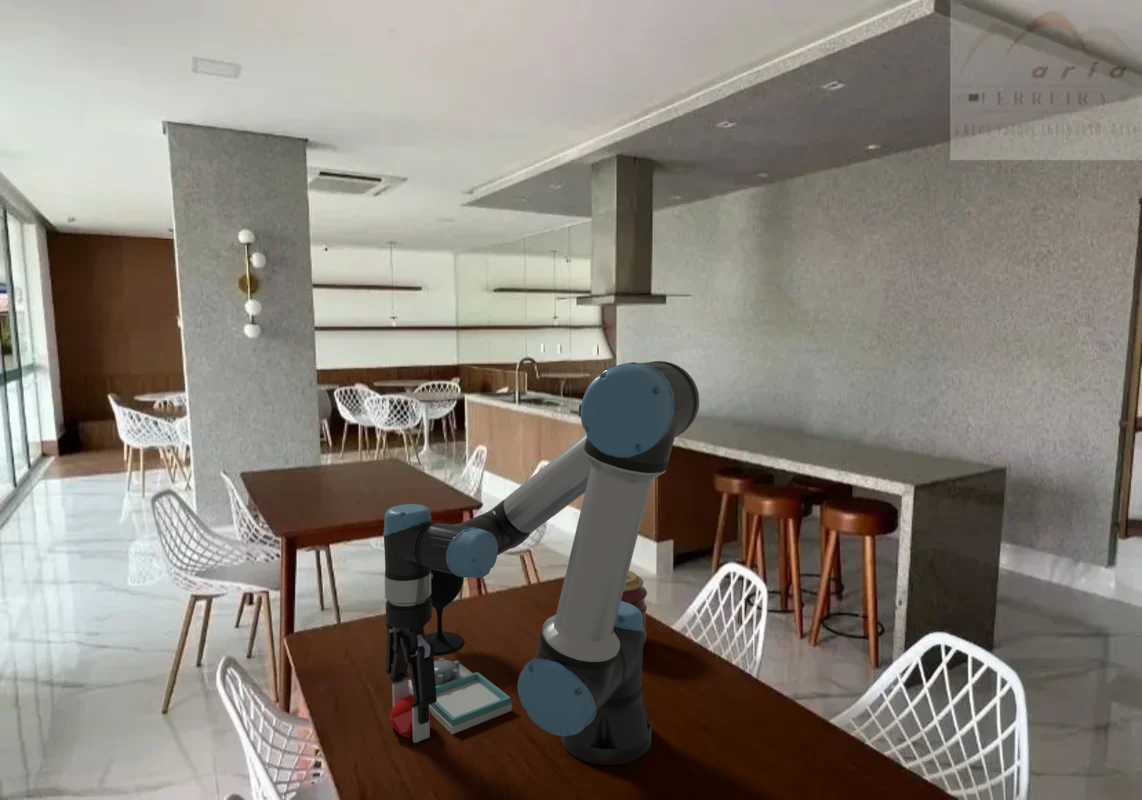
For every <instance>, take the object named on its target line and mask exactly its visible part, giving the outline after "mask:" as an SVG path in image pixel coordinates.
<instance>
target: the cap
mask: <svg viewBox="0 0 1142 800" xmlns="http://www.w3.org/2000/svg"><path fill="white" fill-rule="evenodd" d="M414 702H415V700H414V695H411V694H409V696H407V697H405V698H403V699H401V700H400V701H399V702H397V703H396V704H395V706H394V707H393V706H392V709H391V711H390V716H389V723H390V724H391V726H392V727H393V729H394V730H395V731H396V732H397V733H398V734H399V735H401V736H402V737H403V738H411V737H412V731H413V728H412V707H411V704H412V703H414ZM432 717H433V715H432V713H431V712H430V710H429V720H430V721H431V720H432Z"/></svg>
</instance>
